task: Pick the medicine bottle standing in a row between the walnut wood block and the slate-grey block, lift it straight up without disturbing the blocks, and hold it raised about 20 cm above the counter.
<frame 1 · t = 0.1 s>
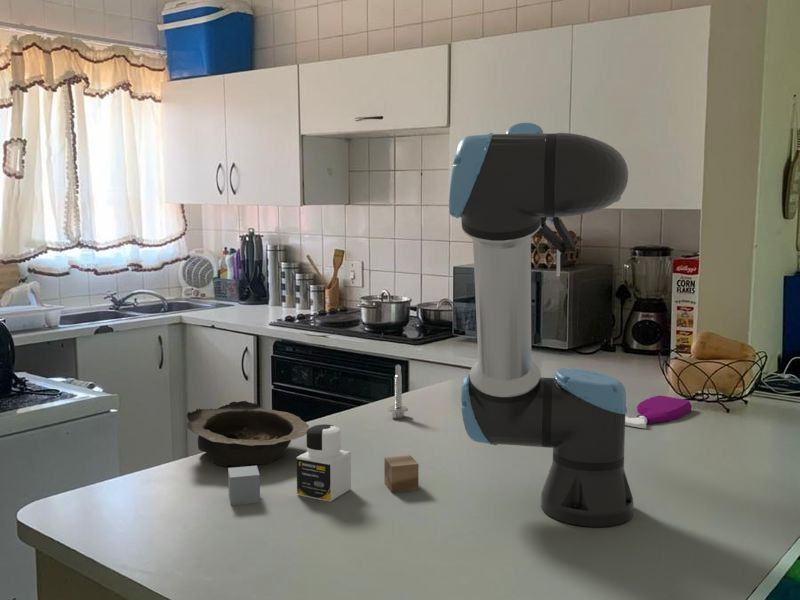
hand: (527, 272, 177), 36 cm above the worktop, tool tilted 35°, fingers open, 13 cm apart
stone bowl: (248, 456, 161), on the worktop
screw: (398, 417, 190), on the worktop
walnut block: (401, 487, 143), on the worktop
spray bottle: (652, 419, 191), on the worktop
medicine bottle: (324, 493, 140), on the worktop
slate block: (244, 499, 137), on the worktop
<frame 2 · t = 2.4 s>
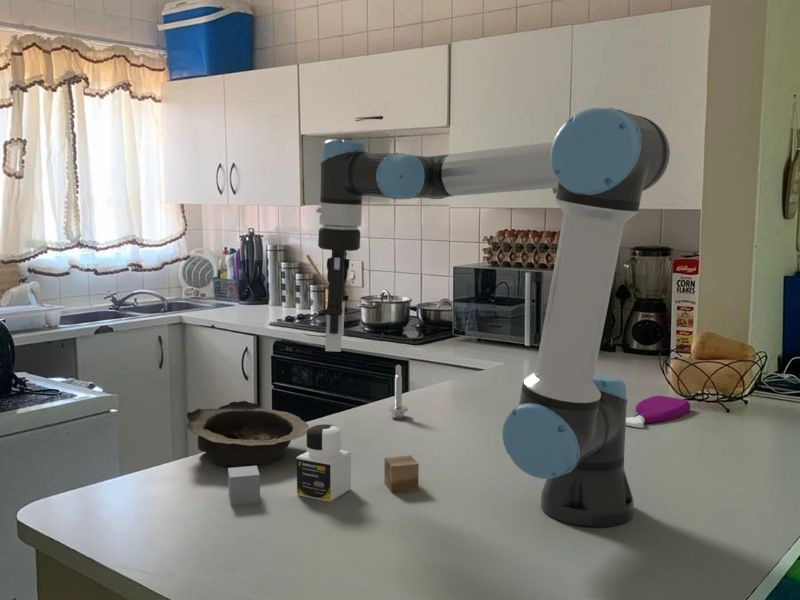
hand: (334, 342, 145), 26 cm above the worktop, tool pointing down, fingers open, 13 cm apart
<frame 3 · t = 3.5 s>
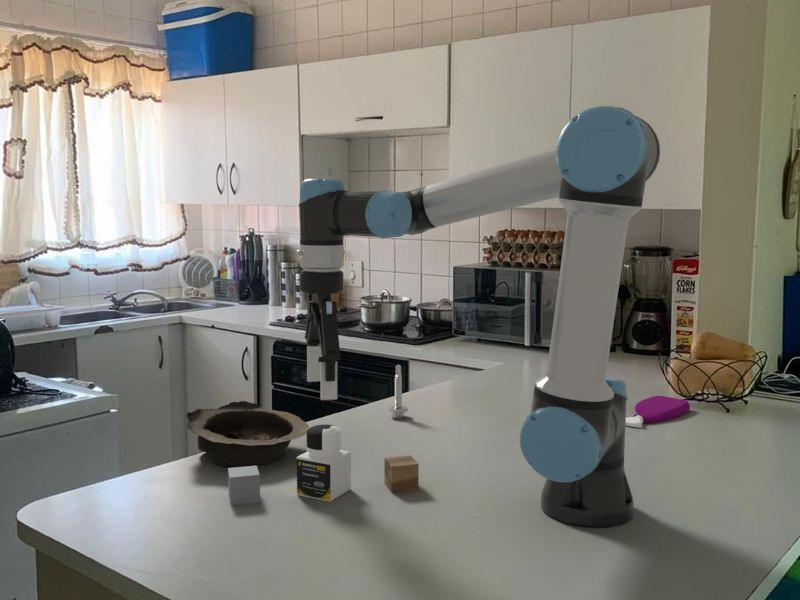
hand: (321, 389, 138), 19 cm above the worktop, tool pointing down, fingers open, 13 cm apart
nothing on the worktop moved.
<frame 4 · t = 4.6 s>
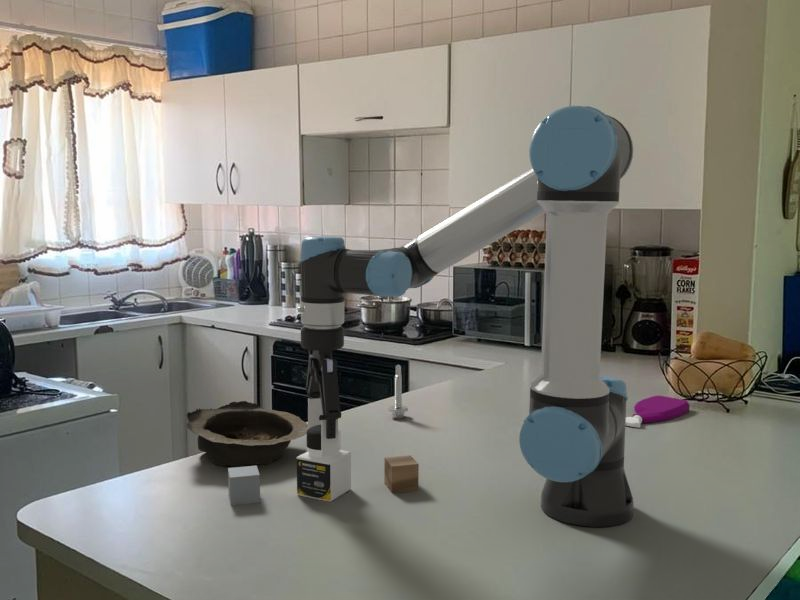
hand: (322, 443, 139), 9 cm above the worktop, tool pointing down, fingers open, 13 cm apart
nothing on the worktop moved.
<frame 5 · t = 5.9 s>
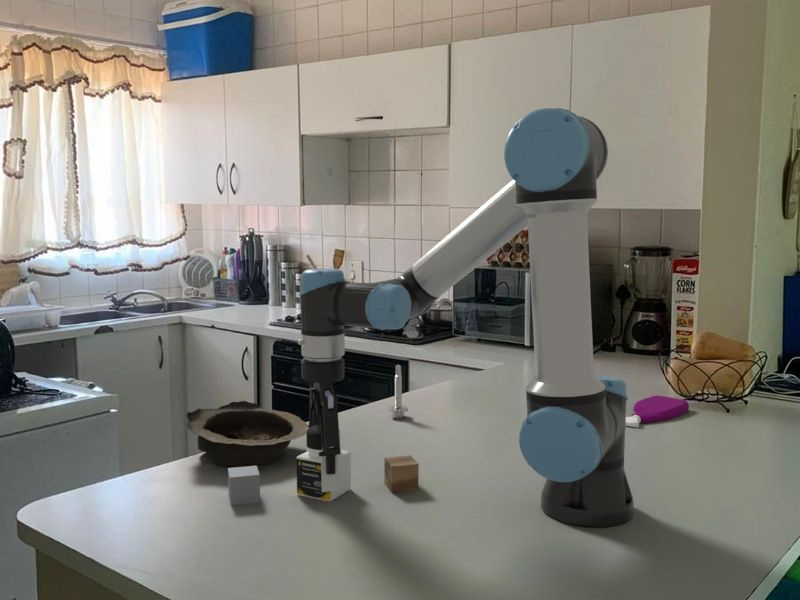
hand: (324, 480, 140), 2 cm above the worktop, tool pointing down, fingers closed on medicine bottle, 10 cm apart
medicine bottle: (324, 493, 140), on the worktop, touching gripper
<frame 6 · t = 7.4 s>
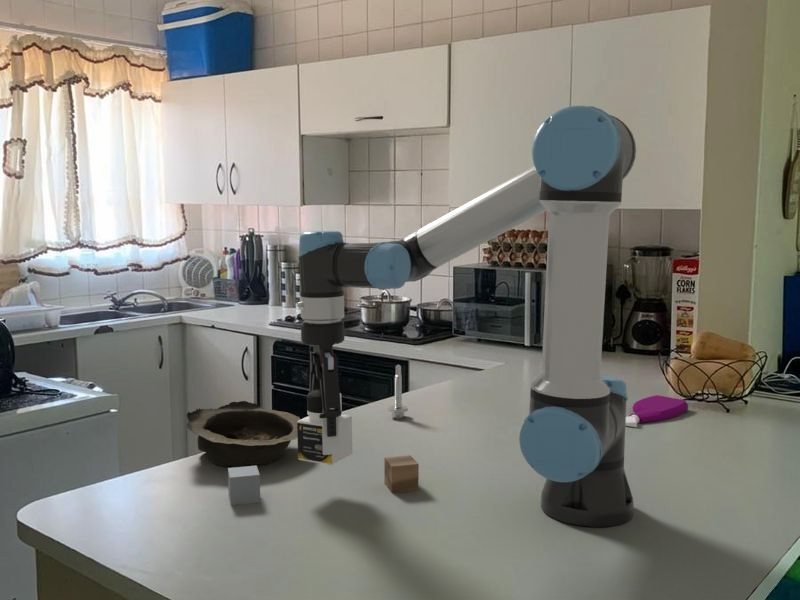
hand: (325, 444, 139), 9 cm above the worktop, tool pointing down, fingers closed on medicine bottle, 10 cm apart
medicine bottle: (325, 458, 139), point 6 cm above the worktop, touching gripper
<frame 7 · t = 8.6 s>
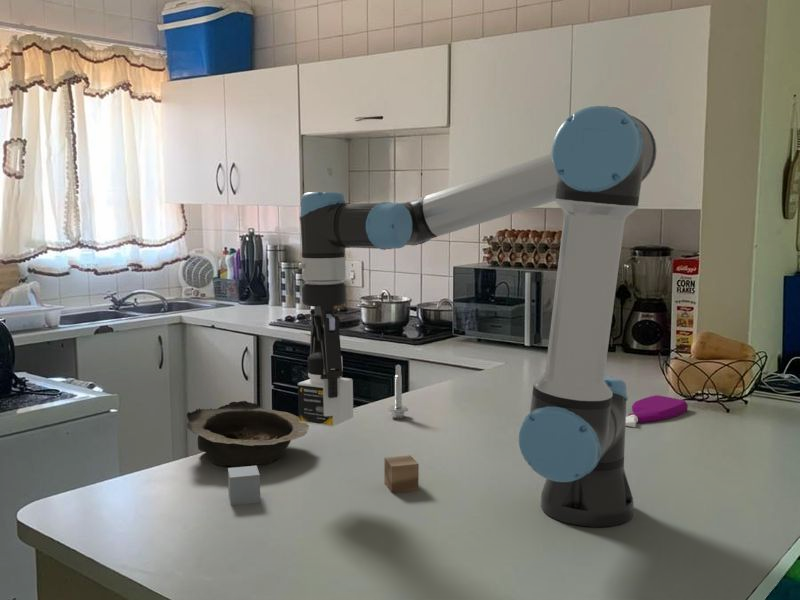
hand: (326, 407, 138), 15 cm above the worktop, tool pointing down, fingers closed on medicine bottle, 10 cm apart
medicine bottle: (326, 421, 139), point 13 cm above the worktop, touching gripper
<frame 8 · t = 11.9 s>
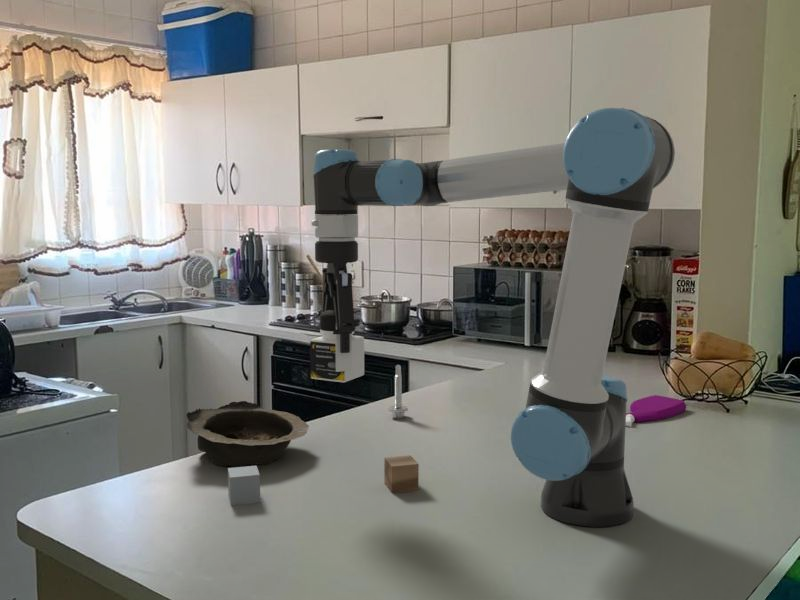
hand: (337, 364, 140), 23 cm above the worktop, tool pointing down, fingers closed on medicine bottle, 10 cm apart
medicine bottle: (337, 378, 140), point 20 cm above the worktop, touching gripper
at the end: the gripper is holding medicine bottle; medicine bottle point 20.2 cm above the worktop; slate block moved 0.1 cm from its start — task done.
